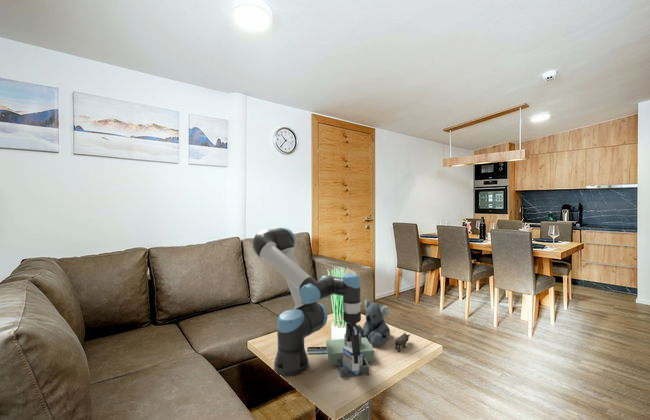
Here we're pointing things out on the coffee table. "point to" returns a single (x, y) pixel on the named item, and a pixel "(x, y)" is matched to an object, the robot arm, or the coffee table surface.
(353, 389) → the coffee table surface
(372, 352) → the sage green box
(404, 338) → the rhino figurine
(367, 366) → the chute bracket
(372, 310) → the koala plush
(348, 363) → the medicine box
